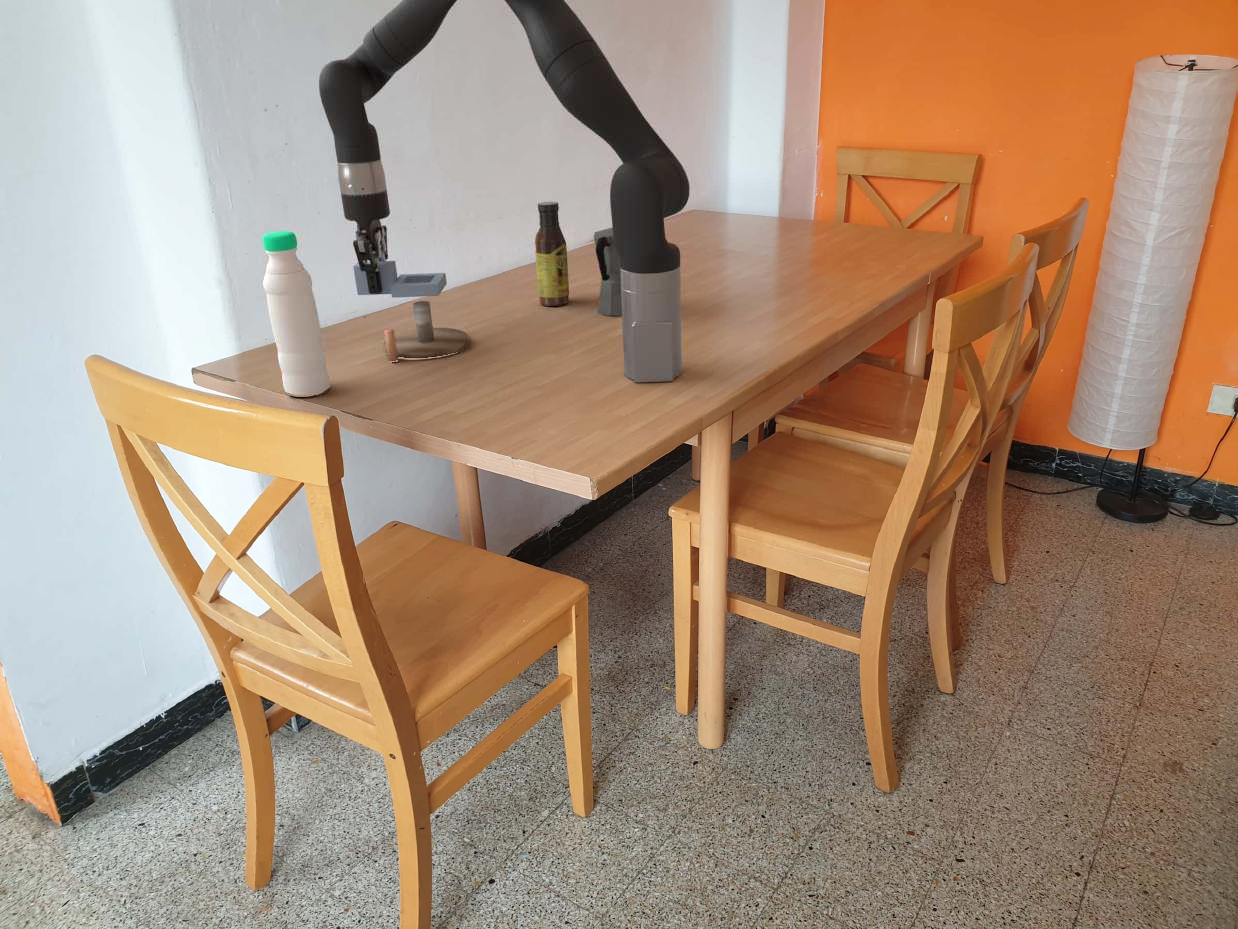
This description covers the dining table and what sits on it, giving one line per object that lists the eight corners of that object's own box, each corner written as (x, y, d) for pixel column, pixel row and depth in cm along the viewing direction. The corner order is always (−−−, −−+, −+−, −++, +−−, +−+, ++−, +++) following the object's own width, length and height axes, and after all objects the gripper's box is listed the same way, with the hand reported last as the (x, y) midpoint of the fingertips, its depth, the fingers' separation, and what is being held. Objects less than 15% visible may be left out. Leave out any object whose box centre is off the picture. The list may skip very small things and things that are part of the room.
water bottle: (314, 380, 157) (285, 226, 146) (340, 389, 153) (312, 231, 142) (276, 393, 152) (243, 235, 141) (301, 402, 148) (270, 240, 137)
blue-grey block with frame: (446, 283, 170) (443, 255, 168) (438, 295, 163) (435, 266, 161) (365, 286, 170) (361, 258, 168) (354, 298, 163) (349, 269, 161)
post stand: (462, 358, 164) (457, 313, 160) (375, 361, 164) (368, 316, 161) (475, 332, 177) (470, 290, 174) (394, 335, 178) (388, 293, 174)
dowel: (397, 362, 163) (392, 331, 161) (387, 363, 163) (383, 332, 161) (399, 359, 165) (394, 329, 162) (390, 360, 165) (385, 329, 162)
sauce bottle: (565, 307, 190) (558, 206, 182) (535, 307, 192) (527, 206, 183) (573, 298, 196) (567, 199, 188) (544, 298, 197) (536, 200, 189)
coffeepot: (612, 299, 194) (608, 209, 187) (655, 303, 191) (653, 211, 183) (579, 320, 182) (573, 225, 174) (624, 325, 178) (620, 227, 170)
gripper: (375, 195, 153) (390, 300, 160) (395, 181, 166) (408, 279, 173) (329, 197, 153) (346, 302, 160) (352, 183, 166) (367, 281, 173)
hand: (378, 289), depth 167 cm, fingers closed on blue-grey block with frame, 3 cm apart
